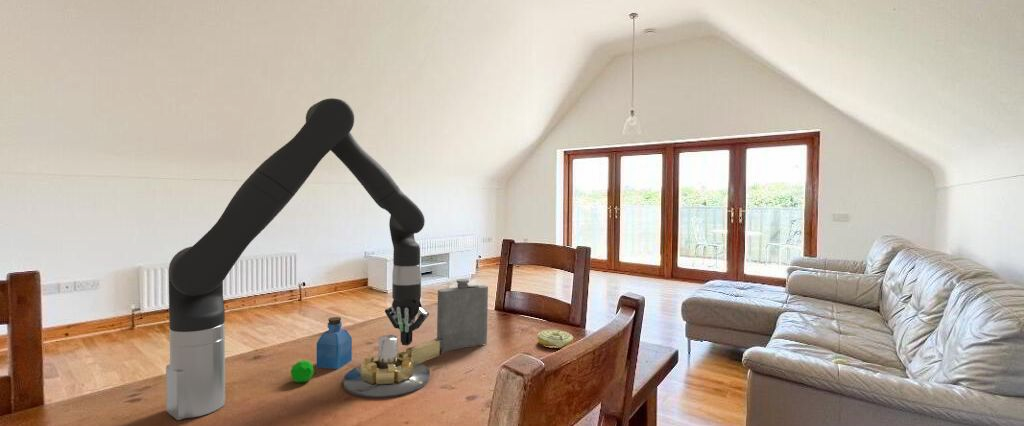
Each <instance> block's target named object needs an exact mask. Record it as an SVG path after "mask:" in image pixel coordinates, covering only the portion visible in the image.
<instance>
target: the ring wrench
mask: <svg viewBox="0 0 1024 426" xmlns="http://www.w3.org/2000/svg"><path fill="white" fill-rule="evenodd" d="M441 355H443V352H442V339H441V338H437V337H436V338H434V339H431V340H428V341H425V342H423V343H420V344H417V345H414V346H411V347H408V348H405V351H401V352H398V353H397V367H395V364H388V365H387V369H379V368H378V364H379V354H378V355H376V356H374V355H373V356H371V355H367V356H365V358H364V361H362V364H361V365H362V366H361V365H360V366H361V378H362V380H364V381H367V382H369V383H371V384H373V383H376V384H393V383H394V382H397V383H398V382H401V381H403V380H405V379H408V378H410V377H411V376H413V370H414V365H416V364H419V363H421V364H422V363H423V362H426V361H429V360H431V359H433V358H435V357H436V358H437V357H439V356H441Z"/></svg>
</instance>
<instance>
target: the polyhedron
mask: <svg viewBox="0 0 1024 426" xmlns="http://www.w3.org/2000/svg"><path fill="white" fill-rule="evenodd" d="M314 372H315V369H314V366H313V363H312V362H310V361H309V360H306V359H305V360H304V359H303V360H299V361H298V362H297V363H295V364H293V365H292V367H291V369H290V374H291V378H292V380H293V381H294V382H296V383H300V384H301V383H306V382H307V381H308V380H309V379H311V378H313V375H314V374H315V373H314Z"/></svg>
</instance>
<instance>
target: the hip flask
mask: <svg viewBox="0 0 1024 426" xmlns="http://www.w3.org/2000/svg"><path fill="white" fill-rule="evenodd" d="M469 282H470V280H469V279H468V278H458V279H456V283H457V284H456V285H457V287H455V286H454V287H449V288H441V289H437V318H436V319H437V320H436V338H441V339H442V353H446V352H450V351H454V350H459V349H463V348H464V347H465V348H471V347H478V346H477V345H480V346H484V345H483V344H486V343H487V344H488V310H489V309H488V307H489V306H488V305H489V303H488V302H489V299H488V298H489V286H488V285H483V284H482V285H478V284H476V285H475V284H472V285H471V284H469ZM487 344H486V345H487ZM470 346H471V347H470ZM465 348H464V349H465Z"/></svg>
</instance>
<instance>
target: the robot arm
mask: <svg viewBox="0 0 1024 426" xmlns="http://www.w3.org/2000/svg"><path fill="white" fill-rule="evenodd" d="M354 124H355V114H354V111H353V108H352V107H351V105H350V104H349V103H347V102H346V101H345V100H342V99H339V98H325V99H322V100H320V101H317V102H316V103H314V104H313V105H312V106H310V107H309V109H308V110H307V112H306V113H305V123H304V124H303V126H301V128H300V130H299V131H298V132H297V133H296V134H295V136H293V138H291V139H290V140H289V141H287V143H285V144H284V145H283V146H281V147H280V148H279V149H277V150H276V151H275V152H273V154H271V155H270V156H269V157H268V158H266V160H264V161H263V162H262V163H261V164H260V165H259V166H258V167H257V168H256V169H255V170H254V171H253V172H252V173H251V174H250V175H249V177H248V178H247V179H245V181H244V182H243V183H242V185H240V187H239V188H238V190H237V191H236V192H235V193H234V195H233V196H232V198H231V199H230V200H229V203H228V204H227V206H226V207H225V209H224V211H223V213H221V216H220V217H219V219H218V220H217V221H216V222H215V224H214V225H213V226H212V227H211V228H210V229H209V230H208V231H207V232H206V233H205V234H204V235H203V236H201V238H200V239H199V240H197V241H196V242H195V244H194V245H192V246H191V245H190V246H188V247H185V248H183V249H181V250H180V251H178V252H177V253H175V255H174V256H172V258H171V261H170V262H169V266H168V317H169V318H168V319H169V321H168V322H169V363H168V364H167V365H166V366H165V396H166V398H165V401H166V403H165V406H166V410H165V411H166V412H165V413H168V414H169V415H170V416H171V417H173V418H174V419H175V420H177V421H181V420H184V419H190V418H196V417H197V418H198V417H202V416H204V415H205V416H206V415H207V414H212V413H213V412H216V411H218V410H219V409H221V408H222V407H223V406H224V405H225V403H226V353H225V352H226V347H225V346H226V344H225V343H226V341H225V340H226V335H225V334H226V323H225V321H226V317H225V316H226V315H225V314H226V313H225V312H226V309H225V304H224V301H225V300H224V280H225V279H226V277H227V276H228V274H229V273H230V271H231V270H232V268H233V267H234V266H235V264H236V262H237V261H238V259H240V257H241V256H242V254H243V253H244V251H245V250H246V249H247V248H248V247H249V245H250V244H251V243H252V242H253V241H254V239H256V237H257V236H258V235H260V233H262V231H263V230H264V229H266V228H267V226H269V224H271V222H272V221H273V220H274V219H275V218H276V216H278V215H279V213H280V212H282V210H283V209H284V208H285V207H286V206H287V204H288V203H289V202H290V201H291V200H292V199H293V197H294V196H295V195H296V194H297V193H298V191H299V190H300V189H301V187H302V186H303V185H304V184H305V182H306V181H307V179H308V178H309V177H310V175H311V174H312V173H313V171H314V170H315V169H316V168H317V165H319V163H320V162H322V160H323V158H325V156H326V155H327V154H328V153H329V152H330V151H331V152H332V153H333V154H334V156H336V158H338V159H339V160H340V162H342V163H343V165H344V166H345V167H346V168H347V169H348V171H350V172H351V174H353V176H354V177H355V178H356V180H357V181H358V182H359V183H360V185H361V186H362V187H363V188H364V190H365V191H366V192H367V193H368V195H369V197H370V198H371V199H372V200H373V201H374V202H375V204H376V205H377V206H378V207H379V208H381V209H382V210H385V211H386V212H387V213H388V214H390V216H389V222H388V223H389V224H388V225H389V233H390V237H391V243H392V248H393V256H392V257H393V262H392V263H393V267H392V278H391V279H392V280H391V281H392V282H391V283H392V285H391V287H392V290H391V291H392V293H391V294H392V296H391V298H392V302H391V306H389V307H388V308H386V309H385V310H384V312H385V315H386V316H387V318H388V320H389V321H390V323H391V325H392V326H393V328H394V329H398V330H399V331H400V343H401V345H402V346H410V345H411V343H412V342H413V331H415V330H418V329H419V328H420V327H421V326H422V324H423V323H424V322H425V320H426V319H427V318H428V317H429V315H430V314H429V313H430V312H428V311H425V310H424V309H423V308H422V307H423V306H422V303H421V297H422V269H421V248H420V244H418V243H417V242H416V240H415V234H418V233H420V232H421V231H422V230H423V229H424V227H425V221H426V220H425V216H424V213H423V211H421V208H419V207H418V205H417V204H416V203H415V202H414V201H413V200H412V199H410V198H409V196H407V195H406V194H405V193H404V192H403V191H402V190H401V189H400V186H398V184H397V183H396V182H395V181H394V178H393V177H392V176H391V175H390V173H389V172H387V170H386V169H385V168H384V167H383V166H382V165H381V164H380V163H379V162H378V161H377V160H375V158H373V157H372V156H371V155H370V154H369V153H368V152H367V151H365V150H364V149H363V147H362V146H361V145H360V144H359V143H358V141H357V140H356V139H355V137H354V136H353V134H352V132H351V131H352V129H353V128H354ZM416 317H417V319H416Z"/></svg>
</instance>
